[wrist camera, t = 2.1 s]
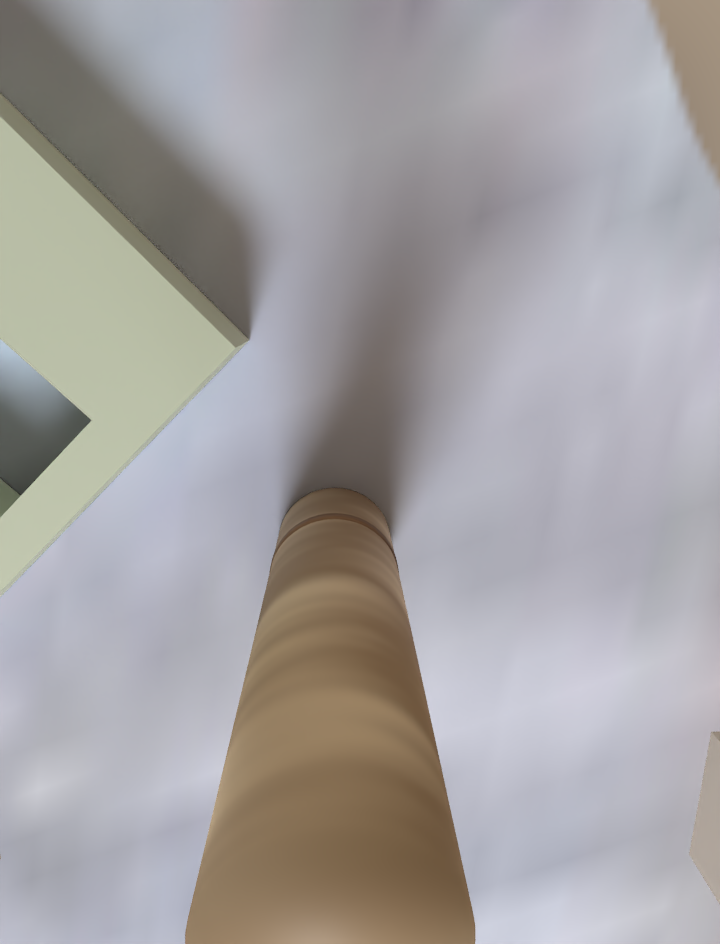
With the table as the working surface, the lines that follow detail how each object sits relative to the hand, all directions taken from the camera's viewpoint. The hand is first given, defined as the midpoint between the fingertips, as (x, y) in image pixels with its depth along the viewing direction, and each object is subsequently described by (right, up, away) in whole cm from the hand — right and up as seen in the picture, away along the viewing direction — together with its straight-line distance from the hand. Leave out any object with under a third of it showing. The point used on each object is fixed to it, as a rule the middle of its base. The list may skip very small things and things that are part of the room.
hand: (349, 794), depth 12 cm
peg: (-1, +3, +12) cm, 12 cm away
